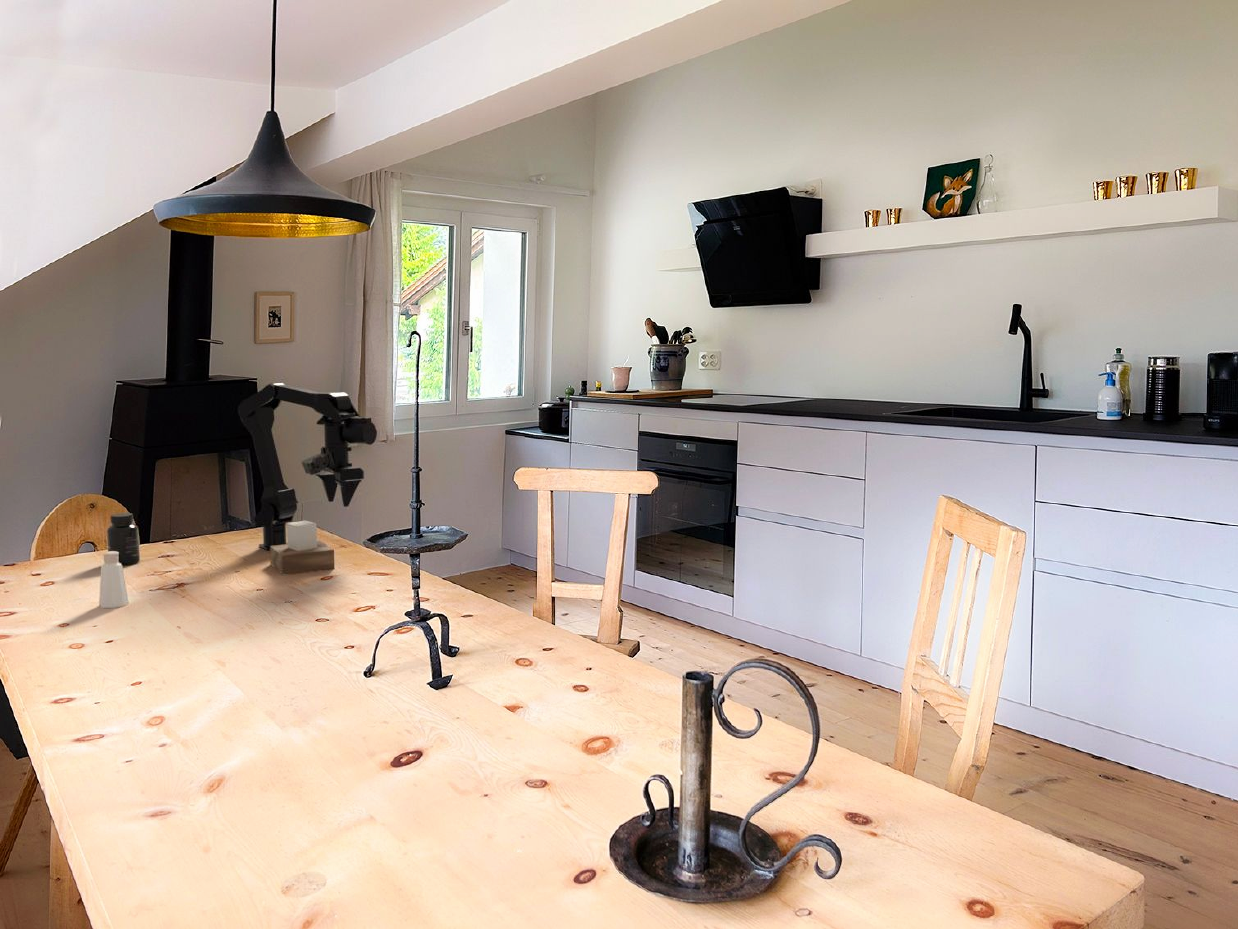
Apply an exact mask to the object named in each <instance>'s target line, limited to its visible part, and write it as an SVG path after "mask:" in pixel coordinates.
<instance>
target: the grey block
mask: <svg viewBox="0 0 1238 929" xmlns="http://www.w3.org/2000/svg"><path fill="white" fill-rule="evenodd" d="M317 530H318V529H317V523H316V522H313V521H310V520H301V521H300V520H299V521H292V522H287V523H286V543H288V548H290V549H293V550H296V551H301V550H307V549H313V548H317V541H318V536H317V534H318V533H317Z"/></svg>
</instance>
